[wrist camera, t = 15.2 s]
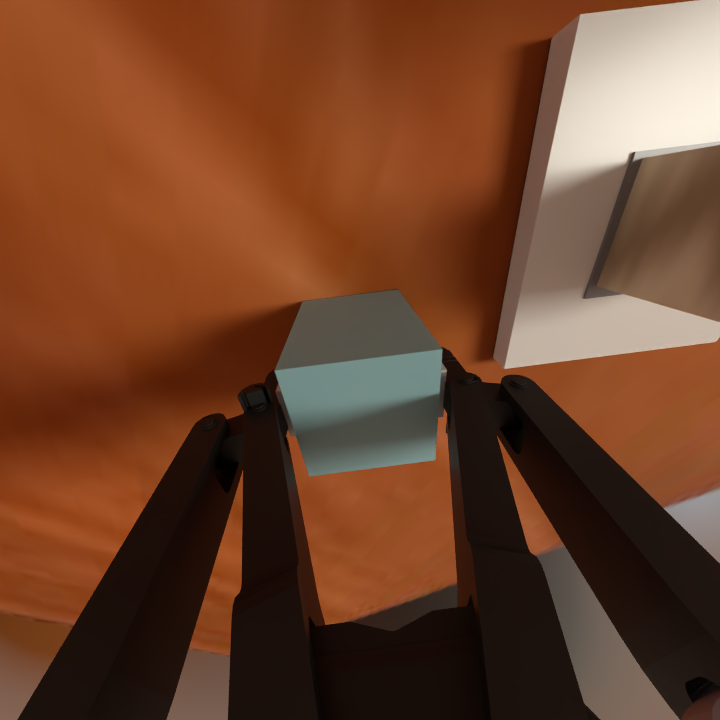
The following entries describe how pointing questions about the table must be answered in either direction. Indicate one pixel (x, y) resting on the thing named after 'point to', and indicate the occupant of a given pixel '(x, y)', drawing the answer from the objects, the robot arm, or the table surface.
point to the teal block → (361, 383)
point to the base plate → (605, 178)
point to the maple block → (671, 234)
